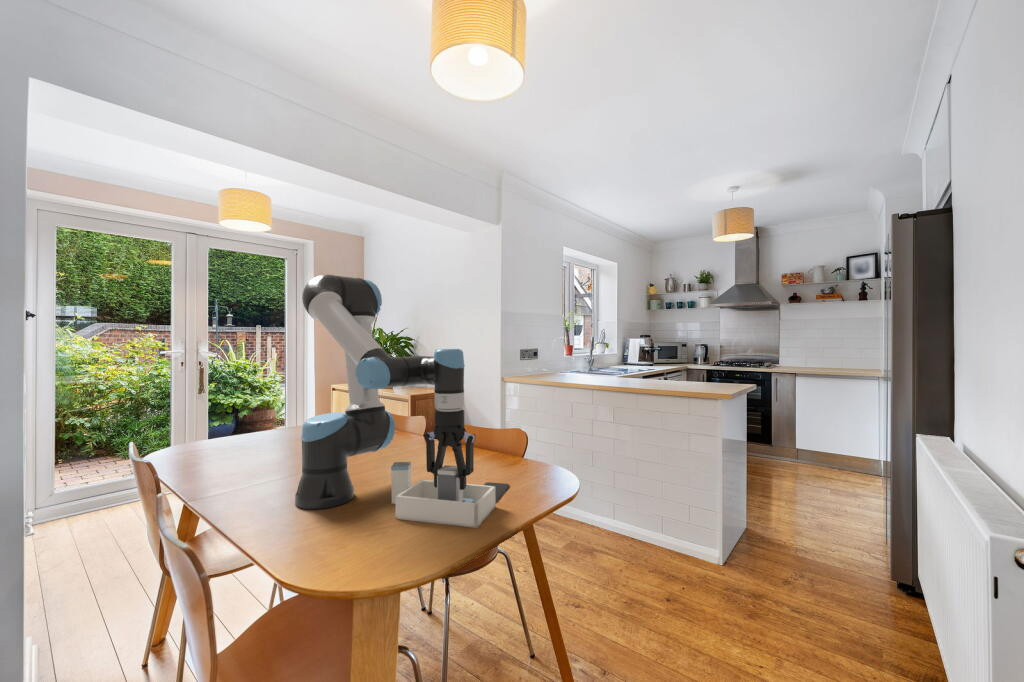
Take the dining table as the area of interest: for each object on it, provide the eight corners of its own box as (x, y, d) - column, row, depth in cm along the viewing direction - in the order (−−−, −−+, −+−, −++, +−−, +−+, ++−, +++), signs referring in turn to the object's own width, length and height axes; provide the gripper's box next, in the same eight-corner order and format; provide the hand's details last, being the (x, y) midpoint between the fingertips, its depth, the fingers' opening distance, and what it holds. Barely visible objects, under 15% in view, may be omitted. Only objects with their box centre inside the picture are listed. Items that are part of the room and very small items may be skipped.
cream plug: (391, 503, 119) (391, 466, 119) (394, 497, 123) (394, 462, 124) (408, 503, 119) (408, 466, 119) (411, 497, 124) (411, 461, 124)
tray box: (395, 518, 109) (395, 496, 109) (421, 499, 122) (421, 479, 122) (477, 528, 103) (477, 504, 103) (495, 507, 116) (495, 486, 116)
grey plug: (437, 510, 110) (437, 470, 110) (445, 503, 114) (445, 465, 114) (454, 511, 109) (454, 471, 109) (461, 505, 113) (461, 466, 113)
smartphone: (495, 505, 118) (510, 486, 133) (495, 502, 118) (510, 483, 133) (467, 503, 120) (485, 484, 135) (467, 500, 120) (485, 481, 135)
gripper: (411, 410, 111) (411, 502, 110) (476, 412, 106) (477, 509, 106) (425, 406, 118) (425, 493, 118) (486, 408, 113) (487, 498, 113)
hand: (450, 500), depth 112 cm, fingers closed on grey plug, 4 cm apart
